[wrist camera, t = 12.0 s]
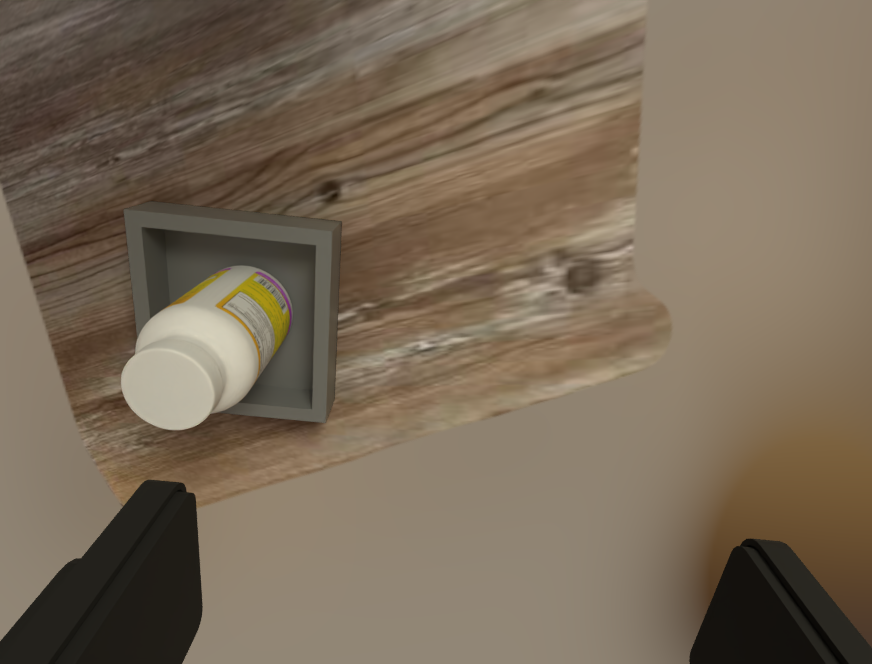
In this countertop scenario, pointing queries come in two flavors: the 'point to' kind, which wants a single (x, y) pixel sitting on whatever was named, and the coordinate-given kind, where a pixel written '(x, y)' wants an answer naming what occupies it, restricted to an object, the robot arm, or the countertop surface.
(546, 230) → the countertop surface
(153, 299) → the charcoal tray
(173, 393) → the supplement bottle
